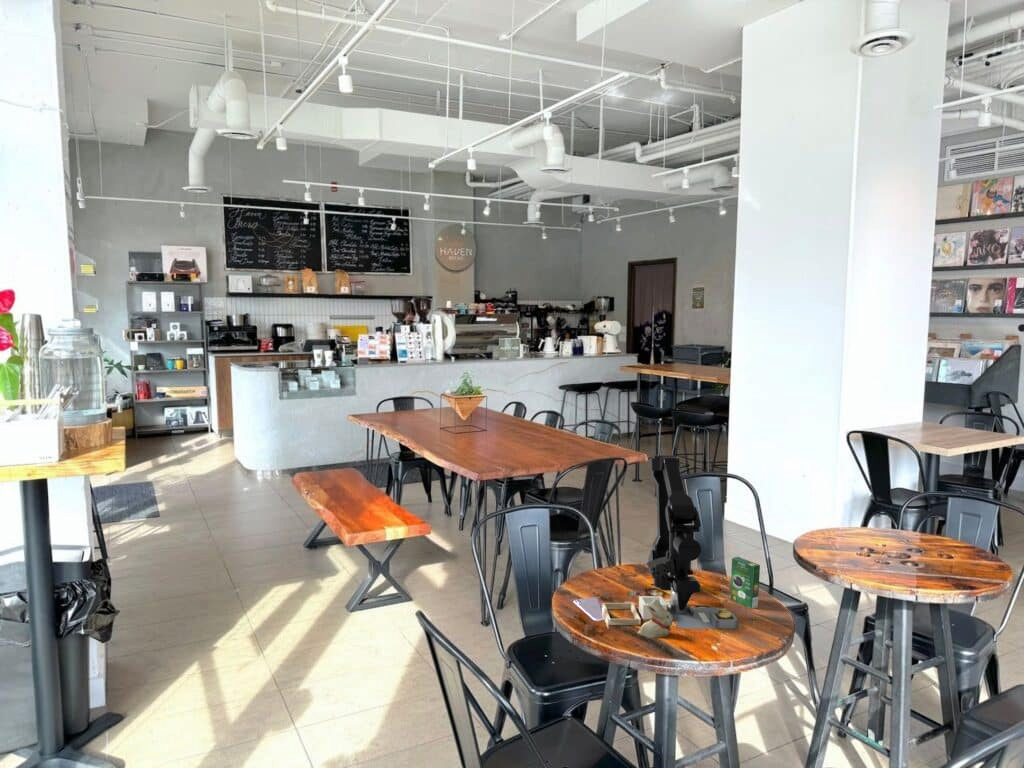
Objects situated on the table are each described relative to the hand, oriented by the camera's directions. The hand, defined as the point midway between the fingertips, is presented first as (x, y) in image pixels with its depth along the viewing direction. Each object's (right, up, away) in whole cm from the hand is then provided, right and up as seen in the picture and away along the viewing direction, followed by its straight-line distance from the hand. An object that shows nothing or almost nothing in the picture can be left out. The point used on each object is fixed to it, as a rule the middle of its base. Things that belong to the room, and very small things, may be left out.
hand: (679, 606), depth 190 cm
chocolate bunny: (-9, -4, -14) cm, 17 cm away
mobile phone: (-22, -3, +5) cm, 22 cm away
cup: (-7, -3, -2) cm, 8 cm away
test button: (+10, -1, -8) cm, 12 cm away
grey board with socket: (+5, -3, -4) cm, 7 cm away
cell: (0, -1, 0) cm, 1 cm away
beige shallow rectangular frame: (-16, -3, -3) cm, 16 cm away
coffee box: (+19, -2, +6) cm, 21 cm away
